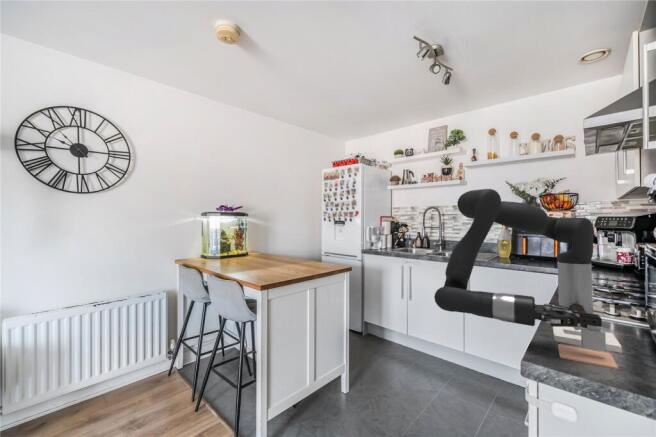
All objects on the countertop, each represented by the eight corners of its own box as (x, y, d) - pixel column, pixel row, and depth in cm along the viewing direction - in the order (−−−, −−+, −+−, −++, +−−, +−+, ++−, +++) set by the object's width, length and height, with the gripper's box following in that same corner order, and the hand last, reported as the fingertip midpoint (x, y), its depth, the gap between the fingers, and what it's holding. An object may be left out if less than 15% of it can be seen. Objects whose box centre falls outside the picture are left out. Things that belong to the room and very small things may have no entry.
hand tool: (569, 314, 100) (568, 301, 100) (584, 316, 97) (583, 302, 98) (579, 333, 84) (578, 317, 84) (598, 335, 82) (597, 319, 82)
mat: (557, 345, 76) (557, 343, 76) (610, 355, 70) (610, 353, 70) (560, 357, 69) (560, 356, 69) (618, 369, 63) (618, 367, 63)
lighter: (604, 348, 68) (603, 314, 68) (606, 351, 67) (604, 316, 67) (565, 341, 72) (564, 309, 72) (566, 344, 71) (565, 311, 71)
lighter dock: (552, 329, 86) (552, 324, 86) (612, 338, 79) (612, 333, 79) (554, 341, 78) (554, 335, 78) (621, 352, 71) (621, 346, 71)
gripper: (511, 300, 72) (606, 312, 62) (514, 289, 83) (595, 298, 73) (512, 330, 72) (607, 347, 62) (514, 315, 83) (596, 327, 73)
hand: (600, 320), depth 68 cm, fingers closed on lighter, 1 cm apart
